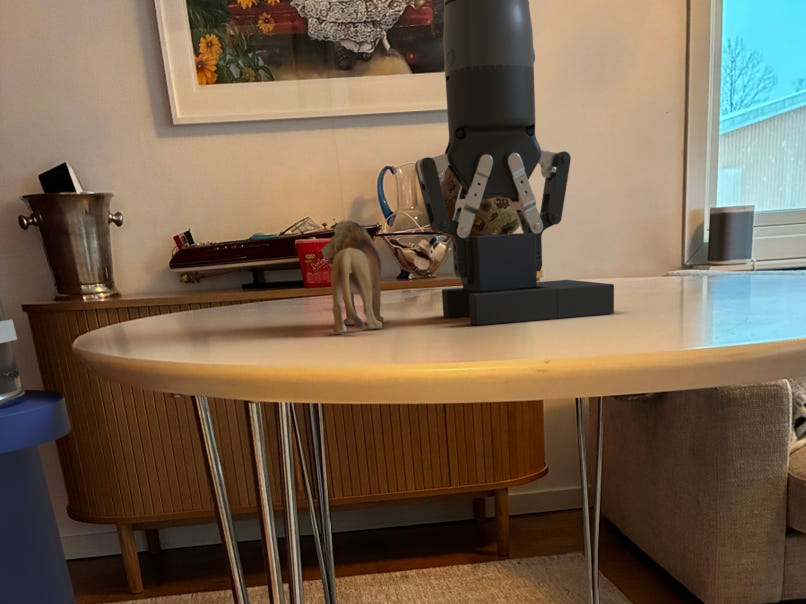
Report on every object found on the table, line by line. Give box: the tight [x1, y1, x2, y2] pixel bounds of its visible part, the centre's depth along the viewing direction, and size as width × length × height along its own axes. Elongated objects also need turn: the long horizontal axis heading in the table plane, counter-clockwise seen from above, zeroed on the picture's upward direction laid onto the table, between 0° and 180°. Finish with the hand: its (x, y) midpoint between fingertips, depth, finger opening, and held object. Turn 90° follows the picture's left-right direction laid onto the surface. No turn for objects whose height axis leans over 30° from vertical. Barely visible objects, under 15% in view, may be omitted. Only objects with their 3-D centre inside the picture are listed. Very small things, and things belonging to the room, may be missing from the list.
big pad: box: [441, 279, 615, 326], centre depth 89 cm, size 13×11×2 cm
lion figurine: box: [320, 219, 385, 334], centre depth 86 cm, size 15×5×9 cm, turn 10°
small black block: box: [462, 232, 538, 292], centre depth 87 cm, size 5×5×4 cm
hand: (498, 280), depth 88 cm, fingers closed on small black block, 5 cm apart
